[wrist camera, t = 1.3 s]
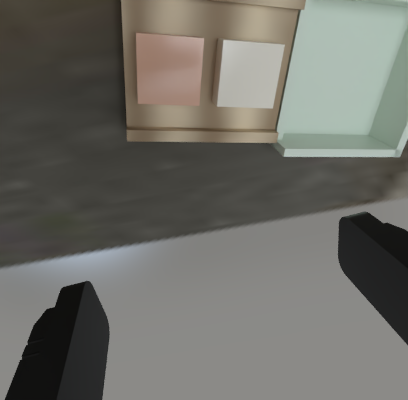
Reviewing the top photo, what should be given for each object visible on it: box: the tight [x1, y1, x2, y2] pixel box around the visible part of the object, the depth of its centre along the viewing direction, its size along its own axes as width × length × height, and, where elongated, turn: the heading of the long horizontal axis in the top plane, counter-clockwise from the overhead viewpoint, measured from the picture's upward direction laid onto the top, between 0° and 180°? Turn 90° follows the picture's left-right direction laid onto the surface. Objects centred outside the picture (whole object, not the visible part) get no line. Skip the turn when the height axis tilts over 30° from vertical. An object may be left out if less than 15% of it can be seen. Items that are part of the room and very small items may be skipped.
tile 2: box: [212, 38, 285, 109], centre depth 26 cm, size 5×5×2 cm
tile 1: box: [136, 32, 204, 106], centre depth 25 cm, size 5×5×2 cm
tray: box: [270, 0, 408, 157], centre depth 30 cm, size 13×14×5 cm
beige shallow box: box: [121, 0, 306, 143], centre depth 27 cm, size 14×12×4 cm
